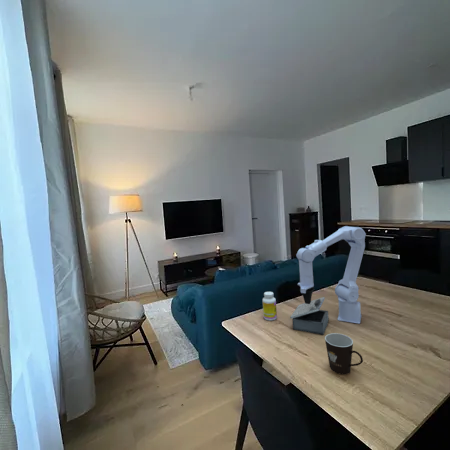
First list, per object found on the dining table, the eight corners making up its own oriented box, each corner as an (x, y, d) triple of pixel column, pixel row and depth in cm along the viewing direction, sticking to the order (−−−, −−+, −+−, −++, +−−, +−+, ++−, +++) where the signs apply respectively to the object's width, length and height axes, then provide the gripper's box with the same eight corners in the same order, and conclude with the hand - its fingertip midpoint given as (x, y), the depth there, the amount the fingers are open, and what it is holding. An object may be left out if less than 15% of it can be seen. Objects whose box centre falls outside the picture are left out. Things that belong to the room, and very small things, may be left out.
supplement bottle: (277, 321, 121) (275, 295, 120) (263, 320, 122) (261, 295, 121) (276, 315, 127) (275, 290, 126) (263, 315, 129) (262, 290, 128)
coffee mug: (321, 362, 88) (320, 334, 87) (344, 359, 88) (343, 332, 88) (339, 385, 76) (338, 353, 75) (366, 381, 77) (364, 350, 76)
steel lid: (324, 298, 117) (323, 294, 117) (318, 310, 105) (316, 306, 105) (299, 306, 124) (297, 303, 124) (290, 318, 111) (288, 315, 112)
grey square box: (328, 321, 117) (328, 310, 117) (323, 335, 105) (322, 323, 105) (300, 316, 124) (300, 306, 123) (292, 329, 112) (292, 318, 111)
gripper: (301, 270, 122) (302, 296, 122) (293, 278, 109) (294, 308, 110) (316, 270, 118) (317, 298, 119) (309, 279, 106) (311, 310, 106)
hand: (307, 303), depth 114 cm, fingers closed
